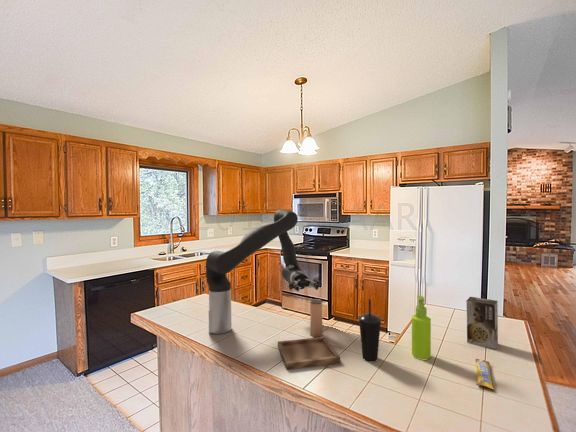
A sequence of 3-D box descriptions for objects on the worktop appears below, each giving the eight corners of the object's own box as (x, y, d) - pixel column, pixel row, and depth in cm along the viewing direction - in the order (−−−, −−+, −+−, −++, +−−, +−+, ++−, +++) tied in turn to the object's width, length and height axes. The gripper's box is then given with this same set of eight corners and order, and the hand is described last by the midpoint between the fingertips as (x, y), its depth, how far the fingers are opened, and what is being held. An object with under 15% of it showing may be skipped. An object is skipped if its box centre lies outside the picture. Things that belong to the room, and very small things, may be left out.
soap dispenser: (429, 351, 103) (428, 295, 103) (431, 361, 96) (431, 300, 96) (411, 349, 105) (410, 293, 105) (412, 358, 98) (412, 299, 98)
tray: (286, 369, 92) (286, 363, 92) (277, 347, 108) (277, 341, 108) (340, 363, 96) (340, 357, 96) (324, 342, 111) (324, 336, 111)
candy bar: (474, 362, 96) (474, 356, 96) (490, 366, 94) (490, 360, 94) (475, 389, 82) (475, 382, 82) (494, 393, 80) (494, 387, 80)
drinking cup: (383, 365, 94) (382, 303, 94) (358, 362, 96) (358, 302, 96) (380, 353, 102) (380, 296, 102) (358, 351, 103) (357, 295, 103)
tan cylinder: (312, 337, 115) (312, 302, 115) (309, 333, 120) (308, 299, 120) (324, 336, 116) (323, 301, 116) (320, 331, 121) (320, 298, 121)
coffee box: (498, 343, 108) (498, 300, 108) (495, 350, 104) (495, 304, 104) (470, 336, 115) (470, 295, 114) (466, 342, 110) (466, 299, 110)
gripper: (284, 273, 143) (291, 281, 127) (312, 270, 146) (323, 278, 130) (284, 288, 143) (292, 298, 127) (312, 285, 146) (323, 295, 130)
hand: (307, 288), depth 129 cm, fingers open, 8 cm apart
